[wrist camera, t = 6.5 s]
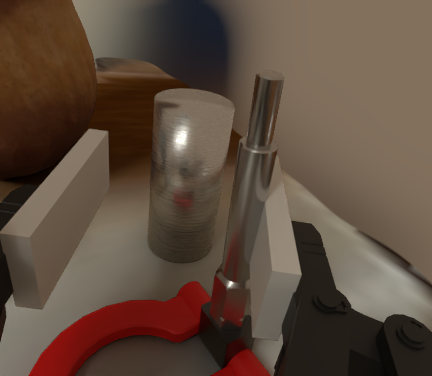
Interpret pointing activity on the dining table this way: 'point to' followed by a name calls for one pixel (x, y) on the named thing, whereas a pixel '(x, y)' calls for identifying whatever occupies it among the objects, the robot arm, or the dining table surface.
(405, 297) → the dining table surface
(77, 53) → the butternut squash
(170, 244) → the spacers
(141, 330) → the tow hook
